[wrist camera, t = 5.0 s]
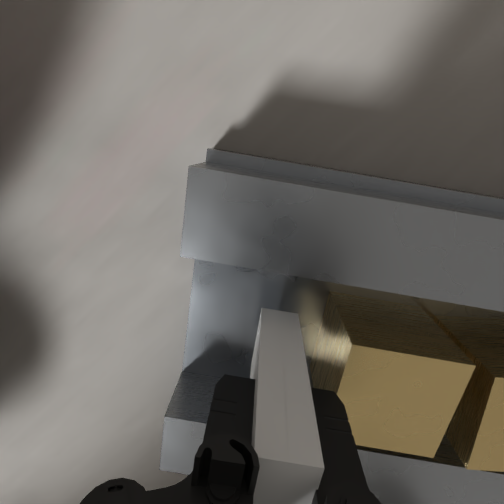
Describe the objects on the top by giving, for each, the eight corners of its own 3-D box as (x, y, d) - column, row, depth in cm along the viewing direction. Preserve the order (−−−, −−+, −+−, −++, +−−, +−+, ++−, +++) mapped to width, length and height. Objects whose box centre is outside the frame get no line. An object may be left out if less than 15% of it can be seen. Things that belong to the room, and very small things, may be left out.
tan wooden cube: (392, 380, 15) (433, 458, 11) (309, 366, 15) (323, 439, 11) (420, 306, 14) (476, 365, 10) (329, 291, 14) (352, 344, 10)
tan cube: (504, 394, 15) (582, 476, 11) (417, 389, 15) (466, 469, 12) (528, 319, 14) (626, 384, 10) (434, 315, 14) (495, 377, 10)
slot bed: (533, 468, 18) (604, 553, 14) (182, 408, 18) (158, 478, 14) (678, 228, 14) (837, 260, 10) (212, 148, 14) (190, 148, 10)
